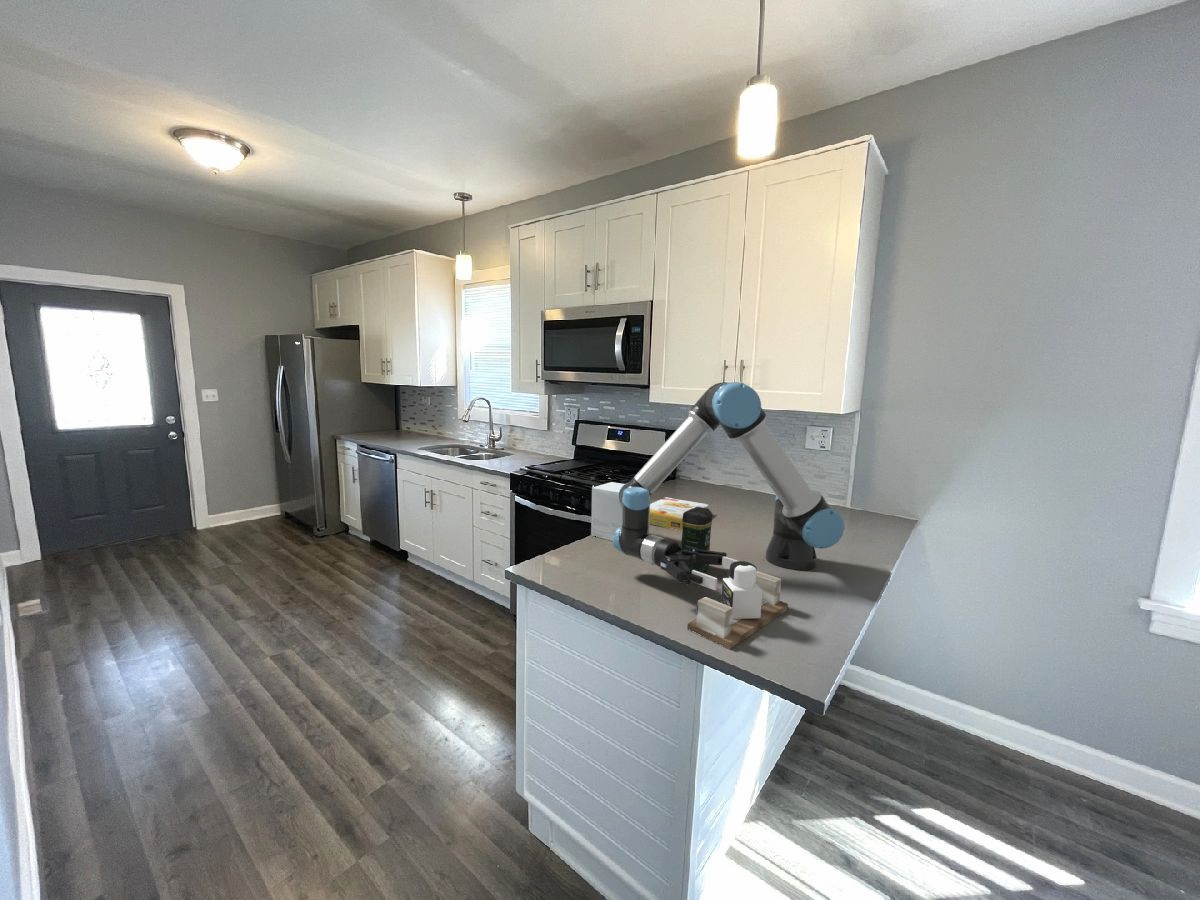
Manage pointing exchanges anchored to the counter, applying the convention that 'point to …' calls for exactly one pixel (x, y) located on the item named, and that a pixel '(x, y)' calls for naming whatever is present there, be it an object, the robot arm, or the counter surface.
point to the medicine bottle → (742, 591)
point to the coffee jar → (696, 532)
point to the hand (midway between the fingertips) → (731, 576)
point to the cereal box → (671, 512)
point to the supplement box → (607, 510)
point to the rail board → (729, 632)
